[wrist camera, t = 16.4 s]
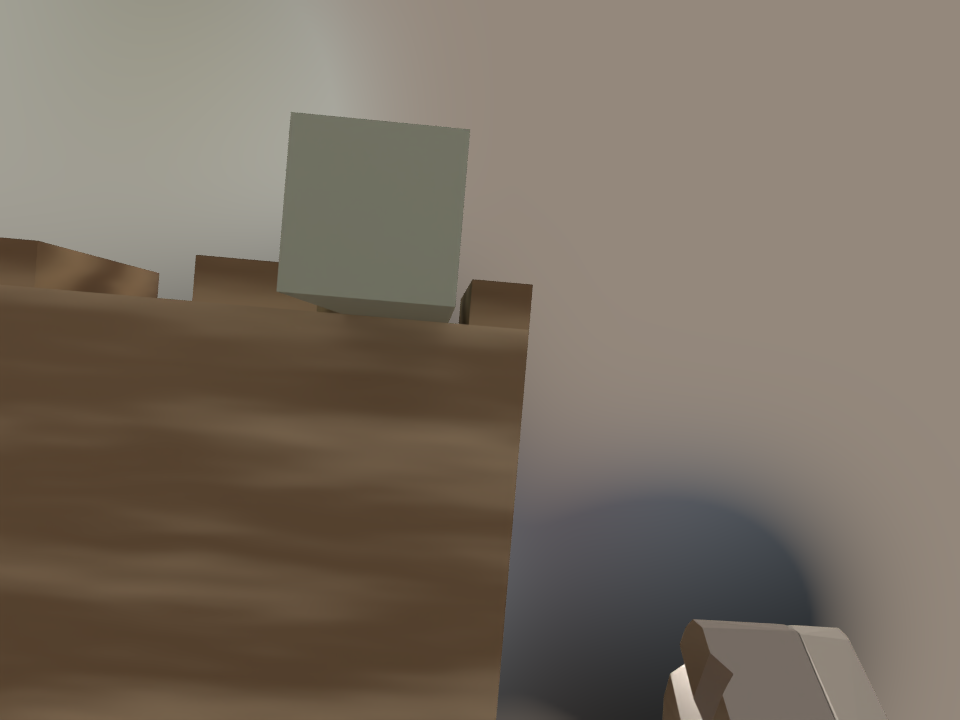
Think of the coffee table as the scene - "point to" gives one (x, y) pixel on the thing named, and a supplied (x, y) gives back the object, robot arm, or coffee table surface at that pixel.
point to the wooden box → (250, 497)
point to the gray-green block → (373, 216)
